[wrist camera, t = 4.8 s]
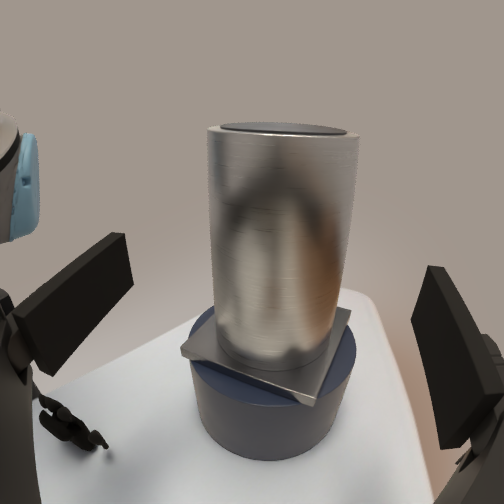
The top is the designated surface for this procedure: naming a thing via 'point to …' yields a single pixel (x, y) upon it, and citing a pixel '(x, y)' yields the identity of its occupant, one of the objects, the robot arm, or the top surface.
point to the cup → (278, 237)
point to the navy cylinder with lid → (268, 393)
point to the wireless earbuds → (68, 425)
